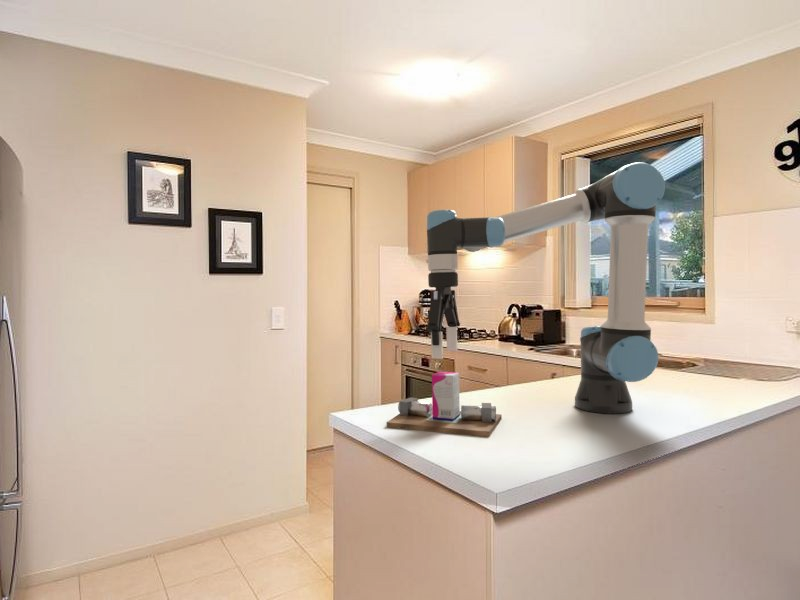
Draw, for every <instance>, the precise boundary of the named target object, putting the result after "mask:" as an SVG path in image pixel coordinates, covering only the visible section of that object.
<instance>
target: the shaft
mask: <svg viewBox="0 0 800 600" xmlns="http://www.w3.org/2000/svg"><path fill="white" fill-rule="evenodd" d="M397 409H398V412H399V414H400V416H406V417H408V416H411V415H418V416H424V417H430V416H431V415H432V412H433V409H432V403H431V402H424V401H419V399H418V398H417V397H408V398H405V399H400V400H399V402H398V405H397Z"/></svg>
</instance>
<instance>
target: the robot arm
mask: <svg viewBox="0 0 800 600" xmlns="http://www.w3.org/2000/svg"><path fill="white" fill-rule="evenodd" d="M665 191H666V182H665V178H664V177H663V175H662V172H660V171H659V170H658V169H657V168H656V167H655V166H653V165H651V164H650V163H646V162H640V161H639V162H632V163H630V164H626V165H623V166H621V167H620V168H618V170H616V171H614V172H611V173H610V174H608V175H606V176H604V177H602V178H600V179H599V180H597V181H596V182H594V183H592V184H590V185H587V186H585V187H581V188H578V189H576V190H575V191H574V193H573V194H571V195H567V196H563V197H560V198H557V199H554V200H549V201H547V202H542V203H540V204H536V205H532V206H530V207H526V208H523V209H519V210H516V211H512V212H509V213H505V214H502V215H499V216H493V217H492V216H488V217H469V218H468V217H465V218H460V217H458V216H457V212H456V211H455V210H452V209H436V210H432V211H430V212H428V214H427V216H426V238H427V239H426V244H427V245H426V246H427V259H426V260H425V261H426V263H427V265H428V266H427V269H428V271H429V272H430V273H429V274H428V275H427V277H428V287H429V288H435V290H432V291H430V303H429V311H428V319H427V320H428V321H427V327H426V332H427V333H430V346H431V347H430V349H431V350H430V351H431V352H430V353H431V359H438V360H440V359H441V360H442V359H444V346H443V345H444V343H443V331H442V326H443V322H444V319H445V320H446V325H447V326H446V327H445V328H446V329H445V331H446V332H445V333H446V351H447V352H458V327H460V326H461V322H460V320H459V319H460V318H459V312H458V307H457V302H456V291H455V289H452V288H453V287H454V288H455V287H456V288H457V287H458V286H459V277H458V276H459V275H458V272H457V270H458V269H459V265H458V249H464V250H465V251H467V252H469V253H474V252H478V251H480V250H483V249H487V248H497V247H502V246H503V244H504V243H507V242H510V241H514V240H517V239H521V238H524V237H528V236H532V235H535V234H539V233H542V232H545V231H549V230H553V229H556V228H560V227H563V226H566V225H570V224H573V223H575V222H576V223H577V222H582V223H585V224H587V223H590V222H594V221H599V220H604V221H605V222H606V223H607V224H608V225H609V226H610V238H609V240H610V242H609V243H610V245H609V246H610V247H609V269H608V270H609V272H608V300H607V301H608V304H607V319H606V320H605V321H604V322H603V323H602V324H601V325H598V326H585V327H583V328H581V330H580V338H579V342H580V381H579V384H578V387H577V390H576V394H575V397H574V406H575V407H576V408H577V409H580V410H582V411H586V412H591V413H599V414H625V413H629V412H631V411H633V400H632V398H631V397H632V396H631V394H630V391H629V389H628V385H627V383H626V382H628V383H637V382H640V381H643V380H645V379H647V378H648V377H649V376H650V375H652V374H653V372H654V371H655V370H656V368H657V366H658V362H659V352H658V349H657V347H656V346H655V344H654V343H653V342H652V340H651V337H652V336H651V333H652V328H651V327H650V325H649V324H647V322H646V321H645V316H646V313H645V312H646V289H647V288H646V287H647V265H648V264H647V263H648V235H649V226H650V224H651V223H652V222H653V221H655V220H656V211H657V209H656V207H657V205H658V204H659V203H660V201H661V200H662V198H663V196H664V194H665ZM444 317H445V318H444Z"/></svg>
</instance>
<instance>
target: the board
mask: <svg viewBox="0 0 800 600" xmlns="http://www.w3.org/2000/svg"><path fill="white" fill-rule="evenodd" d="M502 418H503V417H502V414H501V413H496V421H492V423H482V420H461V410H460V416H459V417H458V418H456V419H455V420H454V421H448V420H437V419H433V412H432V415H431V416H430V417H424V416H418V415H411V416H408V417H406V416H400V413H398V414H397V415H396V416H394V417H393V418H391V419H389V420H388V421H387V422H386V428H392V429H393V428H394V429H403V430H415V431H425V432H433V433H434V432H436V433H446V434H455V435H458V434H459V435H468V436H475V437H476V436H478V437H487V438H488V437H489V438H490V437H491V435H492V434H493V432H494V431H495V429H496V428H497V426H498V425H499V424H500V422H501V420H502Z"/></svg>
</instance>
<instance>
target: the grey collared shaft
mask: <svg viewBox="0 0 800 600" xmlns="http://www.w3.org/2000/svg"><path fill="white" fill-rule="evenodd" d="M460 411H461V420H482V423H492V421H496V414H497V407H496V405H492V403H491V402H481V405H463V404H462V405H461V406H460Z"/></svg>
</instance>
